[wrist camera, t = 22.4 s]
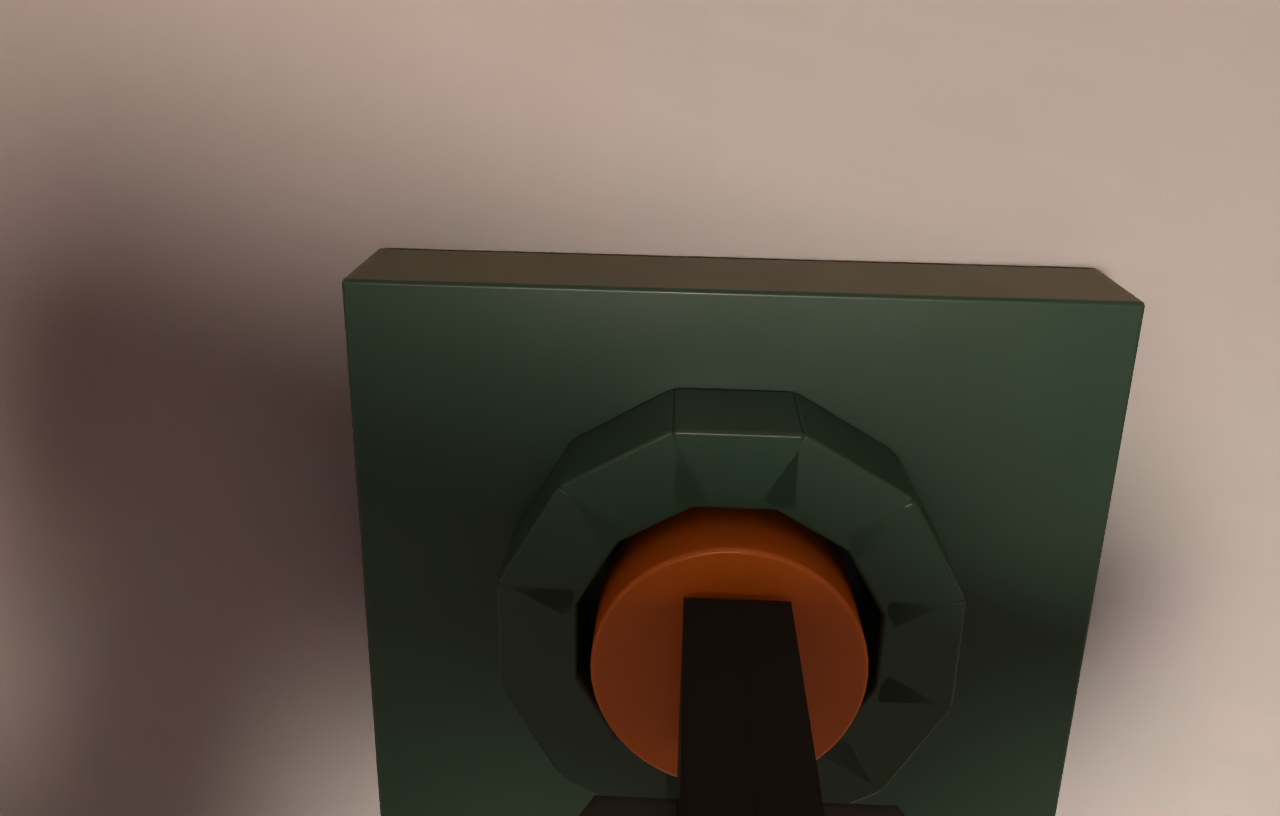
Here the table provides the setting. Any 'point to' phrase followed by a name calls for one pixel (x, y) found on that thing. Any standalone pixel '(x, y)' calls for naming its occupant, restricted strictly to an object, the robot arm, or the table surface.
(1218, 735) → the table surface
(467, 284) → the button box
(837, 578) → the button
